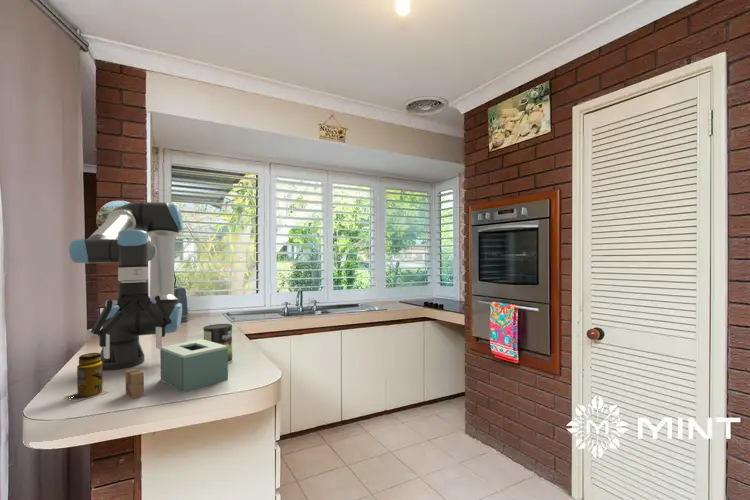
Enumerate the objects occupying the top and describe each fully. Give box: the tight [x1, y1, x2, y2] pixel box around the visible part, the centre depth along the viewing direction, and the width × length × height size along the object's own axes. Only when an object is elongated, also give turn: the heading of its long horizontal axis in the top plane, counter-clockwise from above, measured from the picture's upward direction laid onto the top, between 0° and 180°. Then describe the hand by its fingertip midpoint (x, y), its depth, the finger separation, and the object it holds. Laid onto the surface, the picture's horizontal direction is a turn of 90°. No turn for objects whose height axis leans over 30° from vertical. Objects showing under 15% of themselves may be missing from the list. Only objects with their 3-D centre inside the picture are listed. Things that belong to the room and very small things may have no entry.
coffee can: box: [202, 323, 233, 365], centre depth 141 cm, size 10×10×14 cm
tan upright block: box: [124, 368, 145, 400], centre depth 109 cm, size 6×3×7 cm, turn 50°
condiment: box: [63, 352, 109, 403], centre depth 110 cm, size 7×8×12 cm
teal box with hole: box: [159, 338, 229, 393], centre depth 121 cm, size 18×14×11 cm
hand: (134, 352), depth 109 cm, fingers open, 13 cm apart
